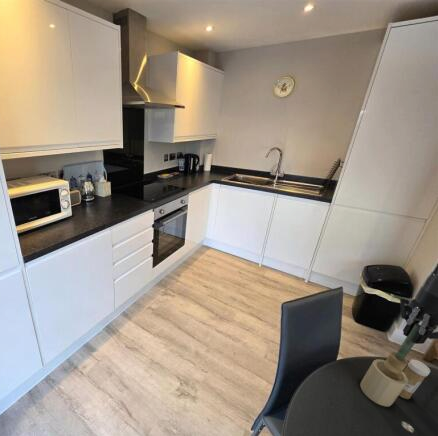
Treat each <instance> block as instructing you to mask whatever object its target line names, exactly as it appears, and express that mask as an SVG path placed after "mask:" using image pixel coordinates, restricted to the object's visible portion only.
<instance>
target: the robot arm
mask: <svg viewBox="0 0 438 436" xmlns="http://www.w3.org/2000/svg"><path fill="white" fill-rule="evenodd" d="M399 305H400V317H401V319H403V320H405V322H406V324H405V326H404V328H403V329H402V334H403V336H405V337H407V336H408V334H409V332H410V331H411V329H412V328H413V326H414V325H415V324H419V325H420V326H421V328H420V330H419V332H417V334H416V335H415V337H414V338H413V340H412V342H413V343H415V344H414V345H417V344H418V345H420V344H421V345H423V344H425V343H426V341H427V340H428V339H429V340H438V331H435V330H436V329H437V328H438V261H437V262H436V264H435V265H434V267H433V268H432V270H431V271H430V273H429V274H428V275H427V276H426V278H425V280H424V281H423V282H422V284H421V286H420V287H419V289H418V291H417V293H416V294H415V296H414V298H413V299H411V298H400V299H399Z"/></svg>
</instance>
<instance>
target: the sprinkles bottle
mask: <svg viewBox="0 0 438 436" xmlns="http://www.w3.org/2000/svg"><path fill="white" fill-rule="evenodd" d="M402 372H403V373H404V374H405V375H406V377H407V379H408V382H407V384H406V386H405V387H404V388H403V390H402V391H401V393H400V394H399V395H398V397H400V398H403V399H406V400H409V399H411V398H412V395H414V393H415V392H416V391H417V390H418V388H419V387H420V385H421V384H422V383H423V382H424V380H425V378H426V377H428V376H429V375H430V373H431V369H430V368H429V366H427V364H425V363H424V362H422V361H420V360H417V359H410V360H409V361H408V364H407V365H406V367H405V368H404V369H403V371H402Z"/></svg>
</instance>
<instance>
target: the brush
mask: <svg viewBox="0 0 438 436" xmlns="http://www.w3.org/2000/svg"><path fill="white" fill-rule="evenodd" d="M420 325H421V324H420V323H419V324H415V325H414V326H413V328H412V329H411V331H410V332H409V334H408V336H405V339H404V340H403V341H402V343H401V345H400V347H399V348H398V349H397V351H396V352H394V351H392V352H390V353H389V354H388V356H387V358H386V359H385V363H384V364H385V366H386V367H387V368H388V369H389V370H390V371H392V372H394V373H397V374H400V373H401V372H404V370H405V369H406V367H407V366H408V363H409V361H408V359H407V356H408V354H409V353H410V352H411V350H412V348H413V347H414V346H415V345H416V344H415V343H413V342H412V340H413V338H414V337H415V335H416V334H417V332H419V330H420V328H421V326H420Z"/></svg>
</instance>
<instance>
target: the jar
mask: <svg viewBox="0 0 438 436" xmlns="http://www.w3.org/2000/svg"><path fill="white" fill-rule="evenodd" d="M385 361H386V359H385V360H384V359H381V358H376V359H374V360H373V361H372V363H371V365H370V366H369V368H368V370H367V371H366V372H365V374H364V375H363V378H362V379H361V382H360V384H359V385H360V388H361V391H362V392H363V394H364V395H365V396H366V397H367V398H368V399H370V400H371V402H374V403H375V404H376V405H379V406H382V407H391V406H392V405H393V404H394V403H395V401H396V400H397V398H398V397H399V394H400V393H401V391H402V390H403V388H404V387H405V386H406V384H407V382H408V379H407V377H406V375H405V374H404V373H403V372H404V371H402V372H401V373H400V374H397V373H394V372H392V371H390V370H389V369H388V368H387V367H386V366H385V364H384V363H385Z"/></svg>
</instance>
